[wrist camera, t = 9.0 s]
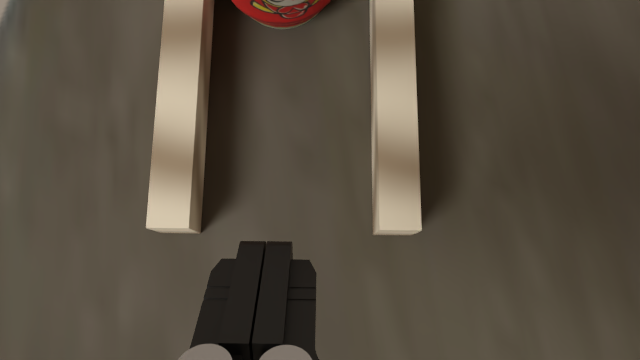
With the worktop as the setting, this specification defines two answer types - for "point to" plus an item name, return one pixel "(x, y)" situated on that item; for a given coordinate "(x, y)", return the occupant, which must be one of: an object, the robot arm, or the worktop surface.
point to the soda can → (281, 11)
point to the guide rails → (192, 112)
